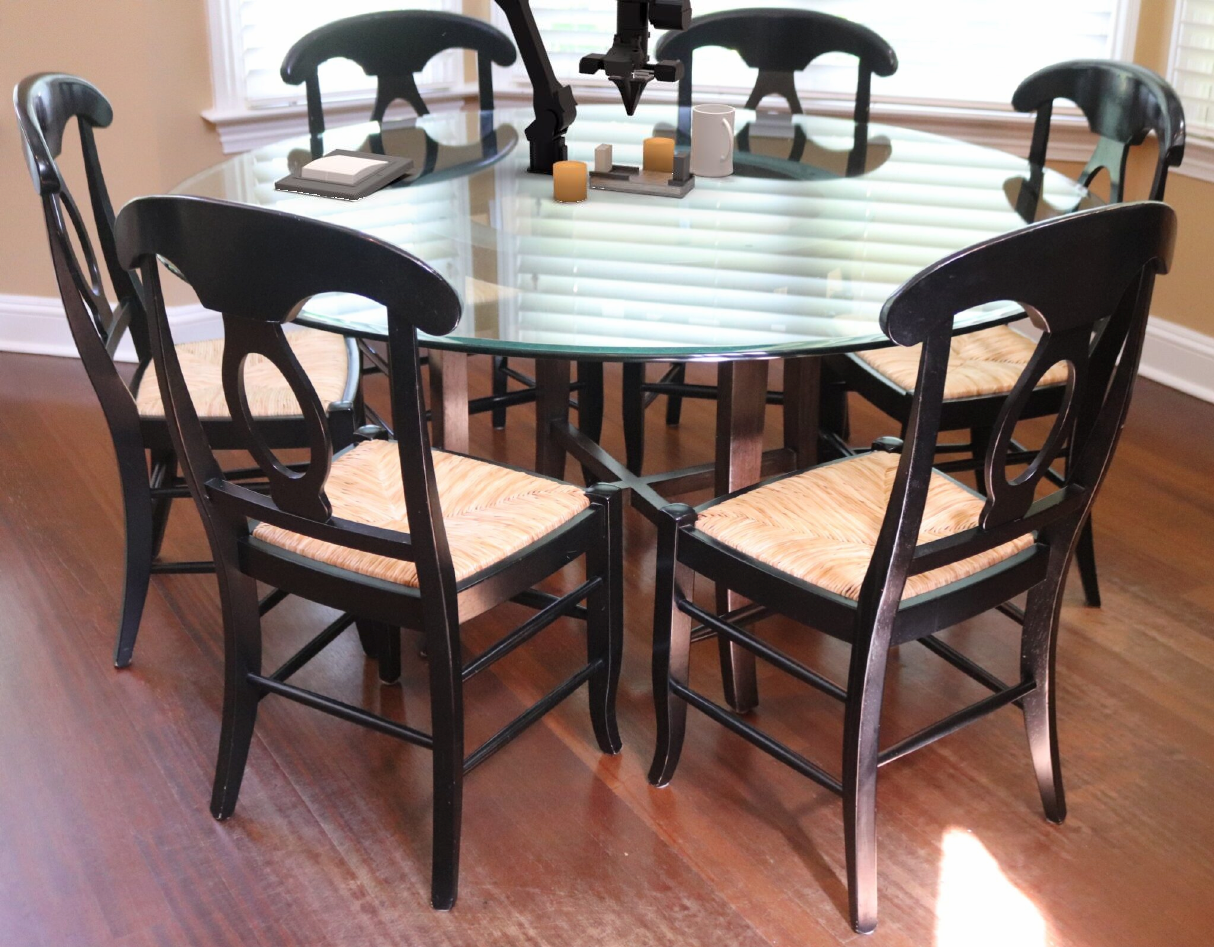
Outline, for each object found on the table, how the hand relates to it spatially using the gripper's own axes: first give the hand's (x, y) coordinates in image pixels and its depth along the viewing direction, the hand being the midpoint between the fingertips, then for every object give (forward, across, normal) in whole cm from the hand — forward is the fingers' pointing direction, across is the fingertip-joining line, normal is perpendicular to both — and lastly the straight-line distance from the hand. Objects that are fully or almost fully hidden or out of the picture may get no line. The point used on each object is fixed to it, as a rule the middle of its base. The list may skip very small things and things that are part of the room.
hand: (630, 115), depth 230 cm
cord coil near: (+12, -5, -16) cm, 21 cm away
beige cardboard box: (+10, -3, -5) cm, 11 cm away
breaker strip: (+12, +4, -4) cm, 13 cm away
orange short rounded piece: (+12, +4, +7) cm, 14 cm away
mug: (+12, +14, +10) cm, 21 cm away
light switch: (+13, -48, -23) cm, 55 cm away
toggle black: (+10, +12, -4) cm, 16 cm away
